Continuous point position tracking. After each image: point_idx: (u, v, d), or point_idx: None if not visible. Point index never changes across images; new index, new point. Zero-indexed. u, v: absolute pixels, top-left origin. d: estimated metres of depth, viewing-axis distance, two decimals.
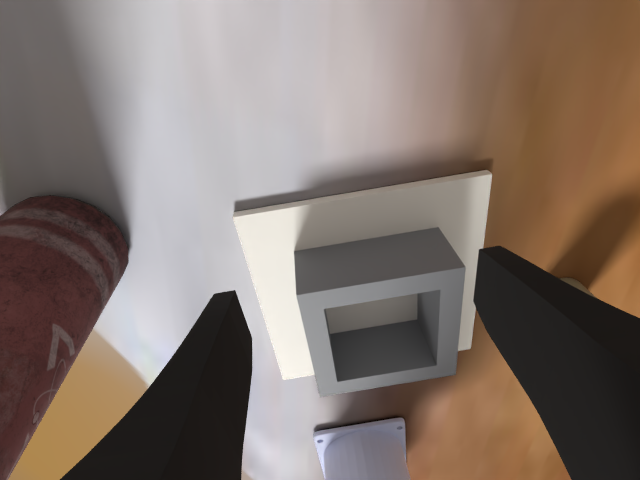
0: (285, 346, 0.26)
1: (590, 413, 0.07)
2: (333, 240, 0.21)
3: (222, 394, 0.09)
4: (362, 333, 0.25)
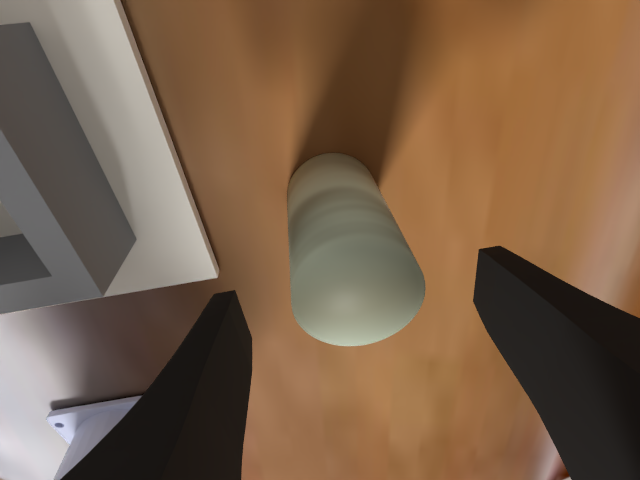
0: None
1: (590, 413, 0.07)
2: None
3: (222, 394, 0.09)
4: (1, 241, 0.16)
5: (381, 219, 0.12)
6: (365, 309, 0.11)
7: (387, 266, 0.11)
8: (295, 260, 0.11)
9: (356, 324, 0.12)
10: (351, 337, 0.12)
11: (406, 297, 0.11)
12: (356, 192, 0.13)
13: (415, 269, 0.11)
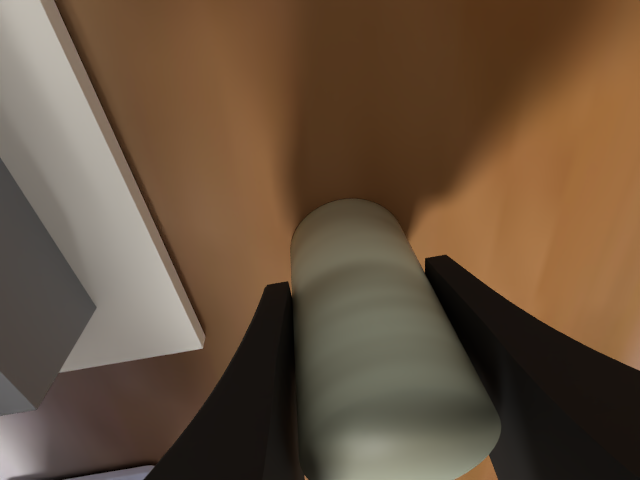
0: None
1: (511, 426, 0.07)
2: None
3: (288, 383, 0.09)
4: None
5: (432, 324, 0.08)
6: (409, 460, 0.08)
7: (448, 412, 0.07)
8: (304, 387, 0.08)
9: (393, 475, 0.08)
10: None
11: (470, 444, 0.08)
12: (390, 272, 0.09)
13: (489, 413, 0.07)
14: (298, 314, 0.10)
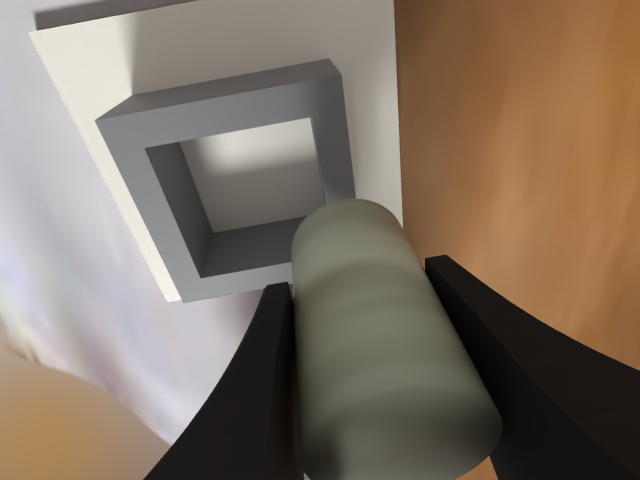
0: (157, 251, 0.20)
1: (511, 426, 0.07)
2: (184, 77, 0.16)
3: (287, 383, 0.09)
4: (253, 229, 0.19)
5: (431, 323, 0.08)
6: (411, 459, 0.08)
7: (448, 411, 0.07)
8: (305, 388, 0.08)
9: (395, 475, 0.08)
10: None
11: (472, 443, 0.08)
12: (389, 271, 0.09)
13: (490, 412, 0.07)
14: (298, 315, 0.10)
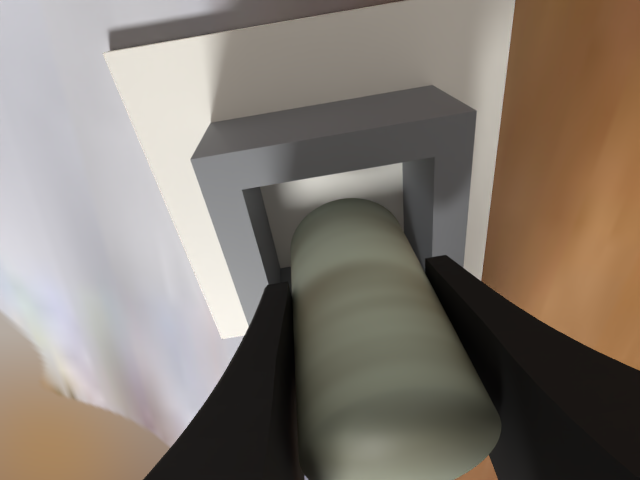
0: (218, 287, 0.18)
1: (511, 426, 0.07)
2: (270, 104, 0.14)
3: (288, 383, 0.09)
4: None
5: (430, 323, 0.08)
6: (409, 459, 0.08)
7: (447, 411, 0.07)
8: (303, 388, 0.08)
9: (395, 475, 0.08)
10: None
11: (471, 443, 0.08)
12: (388, 271, 0.09)
13: (489, 412, 0.07)
14: (297, 315, 0.10)
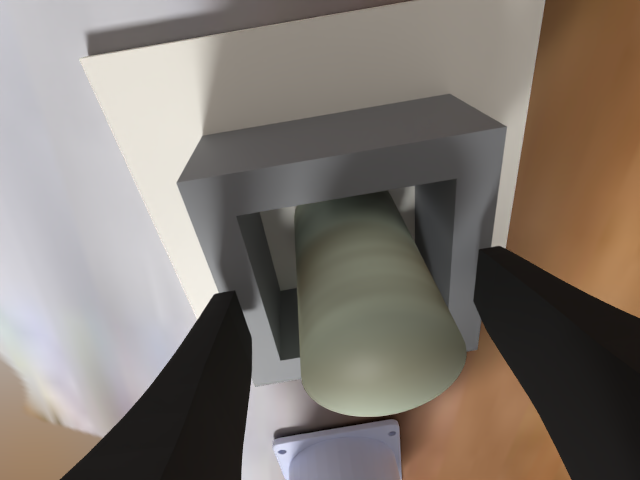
0: None
1: (590, 413, 0.07)
2: (269, 115, 0.12)
3: (222, 394, 0.09)
4: None
5: (412, 269, 0.09)
6: (391, 379, 0.09)
7: (421, 335, 0.08)
8: (306, 319, 0.09)
9: (379, 394, 0.10)
10: (372, 408, 0.10)
11: (442, 366, 0.09)
12: (379, 230, 0.11)
13: (456, 337, 0.09)
14: (301, 267, 0.11)
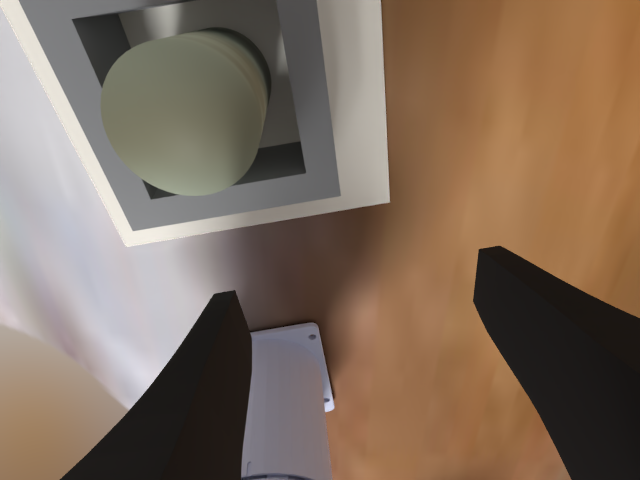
0: None
1: (590, 413, 0.07)
2: None
3: (222, 394, 0.09)
4: None
5: (219, 44, 0.10)
6: (194, 141, 0.10)
7: (206, 78, 0.09)
8: None
9: (188, 162, 0.10)
10: (187, 183, 0.11)
11: (239, 127, 0.10)
12: (209, 33, 0.12)
13: (240, 85, 0.09)
14: None
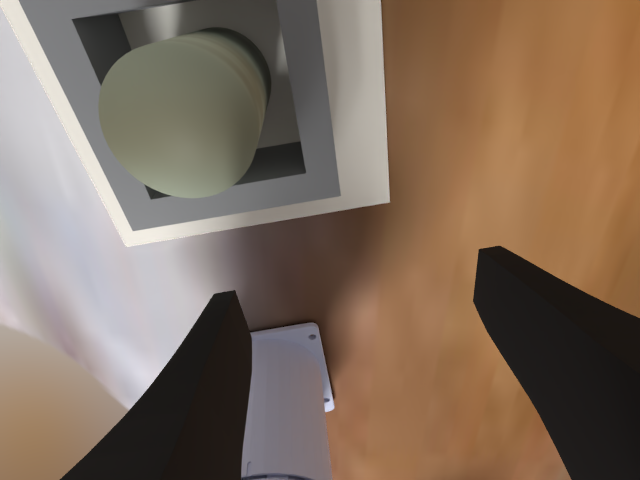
0: None
1: (590, 413, 0.07)
2: None
3: (222, 394, 0.09)
4: None
5: (219, 48, 0.10)
6: (191, 145, 0.10)
7: (205, 83, 0.09)
8: None
9: (184, 165, 0.10)
10: (182, 185, 0.11)
11: (236, 133, 0.10)
12: (211, 36, 0.12)
13: (239, 91, 0.09)
14: None
